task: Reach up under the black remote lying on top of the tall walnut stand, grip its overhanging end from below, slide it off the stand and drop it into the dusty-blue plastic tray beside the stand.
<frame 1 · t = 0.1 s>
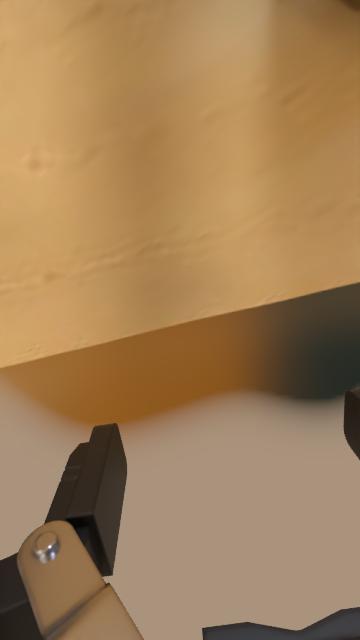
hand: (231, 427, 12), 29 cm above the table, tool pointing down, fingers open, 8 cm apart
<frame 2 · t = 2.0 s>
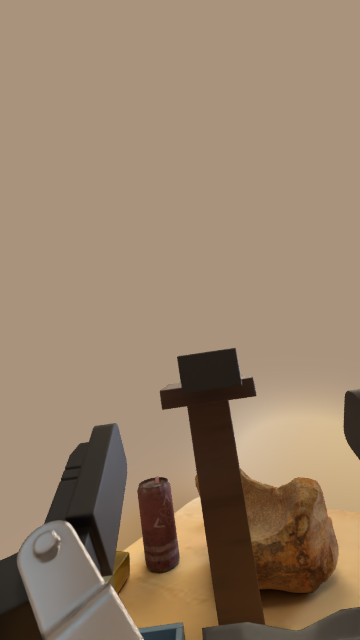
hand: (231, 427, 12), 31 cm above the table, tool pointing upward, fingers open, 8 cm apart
remote: (205, 383, 33), point 32 cm above the table, touching stand
can: (163, 564, 60), on the table
medication box: (107, 602, 52), on the table
rough brown rock: (257, 579, 52), on the table
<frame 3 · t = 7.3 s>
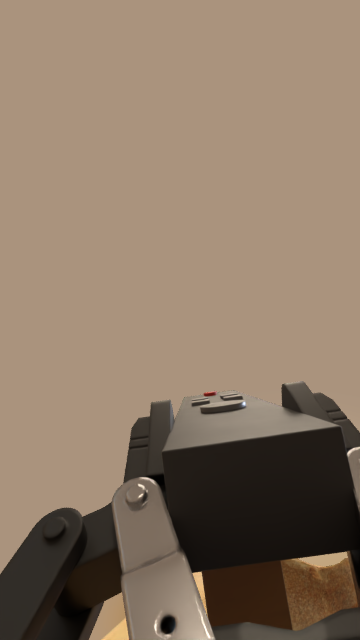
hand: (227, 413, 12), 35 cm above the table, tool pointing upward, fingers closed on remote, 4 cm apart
remote: (226, 455, 17), point 32 cm above the table, touching gripper, stand
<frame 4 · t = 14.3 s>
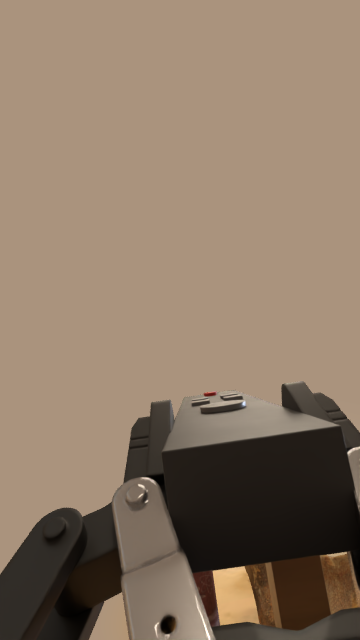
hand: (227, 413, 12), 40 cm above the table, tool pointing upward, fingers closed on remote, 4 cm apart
remote: (226, 455, 17), point 38 cm above the table, touching gripper
can: (202, 636, 55), on the table
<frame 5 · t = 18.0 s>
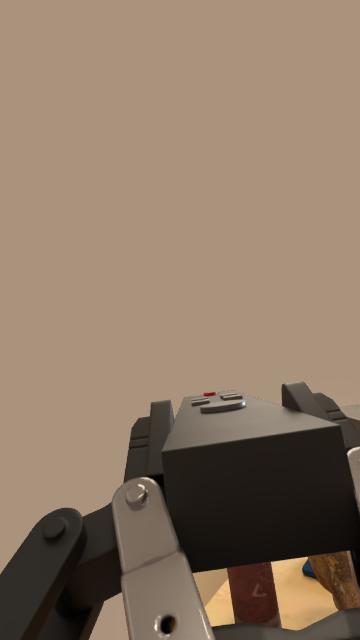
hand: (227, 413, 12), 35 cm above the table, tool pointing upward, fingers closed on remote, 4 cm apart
cell phone: (349, 574, 56), on the table
remote: (226, 454, 17), point 32 cm above the table, touching gripper
when the fingers open (22 cm above the table, at t = 21.4 s): remote drops 19 cm, resting on tray.
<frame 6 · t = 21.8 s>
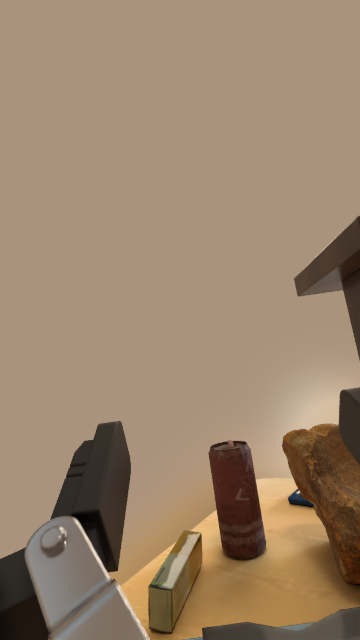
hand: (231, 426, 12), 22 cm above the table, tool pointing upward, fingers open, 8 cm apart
cell phone: (333, 501, 57), on the table
can: (244, 549, 46), on the table
medication box: (181, 596, 38), on the table
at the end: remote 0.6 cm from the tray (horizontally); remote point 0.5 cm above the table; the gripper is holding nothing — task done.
